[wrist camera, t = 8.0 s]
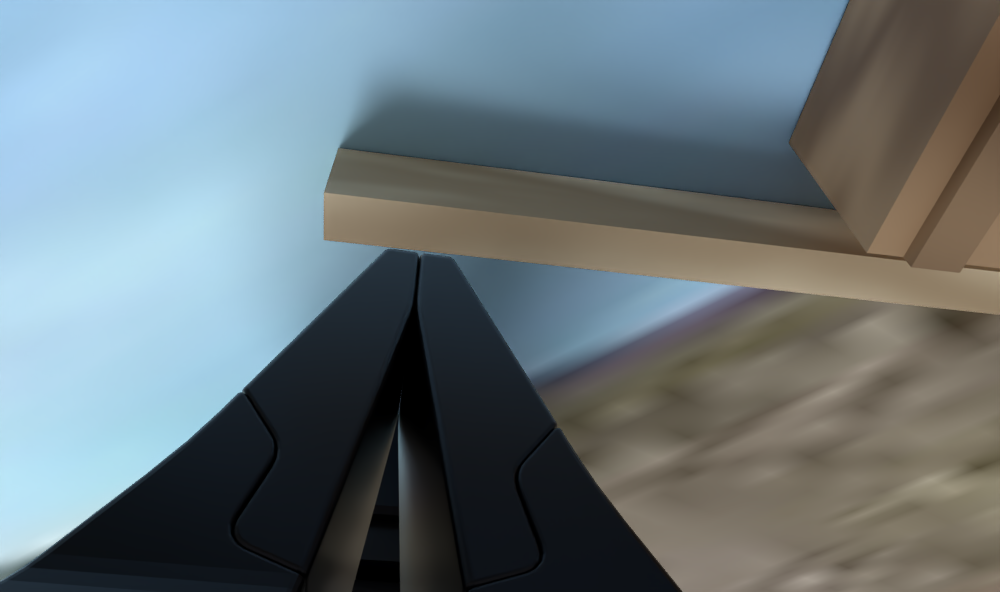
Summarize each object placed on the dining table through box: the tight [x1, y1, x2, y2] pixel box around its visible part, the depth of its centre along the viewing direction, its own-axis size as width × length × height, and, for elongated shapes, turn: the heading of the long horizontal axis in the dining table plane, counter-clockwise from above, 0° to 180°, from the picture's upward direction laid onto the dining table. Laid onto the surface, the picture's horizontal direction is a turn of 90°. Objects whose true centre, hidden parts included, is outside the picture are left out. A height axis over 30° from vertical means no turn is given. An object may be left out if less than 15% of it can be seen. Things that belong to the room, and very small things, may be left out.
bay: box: [324, 148, 1000, 315], centre depth 17 cm, size 15×22×4 cm
